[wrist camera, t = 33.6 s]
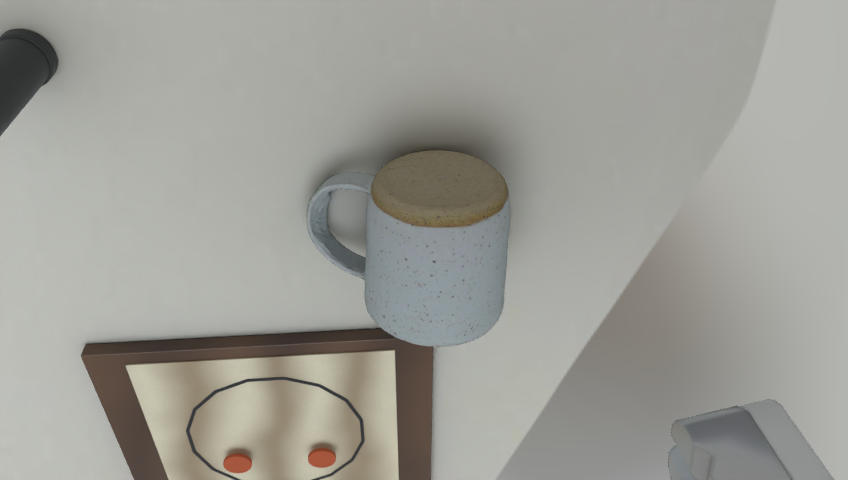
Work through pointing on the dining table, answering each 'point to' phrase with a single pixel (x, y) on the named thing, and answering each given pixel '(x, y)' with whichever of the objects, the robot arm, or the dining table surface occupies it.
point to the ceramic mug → (426, 245)
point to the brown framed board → (269, 405)
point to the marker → (22, 71)
